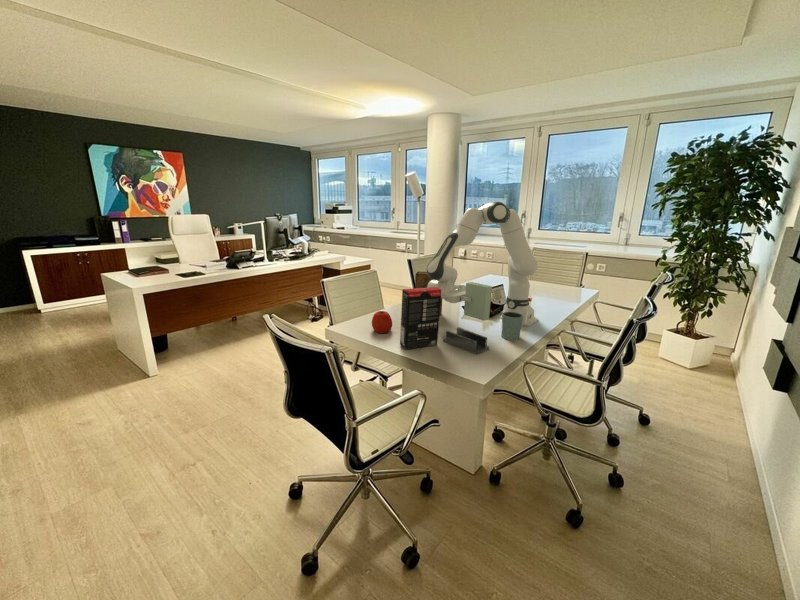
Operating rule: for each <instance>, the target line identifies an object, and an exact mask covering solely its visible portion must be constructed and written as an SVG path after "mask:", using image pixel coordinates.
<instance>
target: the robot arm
mask: <svg viewBox="0 0 800 600" xmlns="http://www.w3.org/2000/svg"><path fill="white" fill-rule="evenodd" d="M494 224H497V225H498V227H499V228H500V233H501V235H502V239H503V243H504V246H505V248H506V249H507V252H508V254H509V255H508V257H507V260H506V263H507V271H508V290H507V296H506V299H505V300H506V301H505V304H504V305H503V310H502V313H504V312H516V313H520V314H522V315H523V321H522V325H521V326H526V327H527V326H528V327H531V326H532V325H533V324H535V323H536V322H538V320H539V318H538V317H536V316H535V310H534V308H533V307H532V306H531V305H530V302H532V301H533V297H532V298H531V297H529V296H530V295H529V294H530V287H531V284H530V281H529V276H532V275H534V274H535V273H536V272H537V270H538V268H539V265H538V261H537V260H536V258H535V255H534V254H533V251H532V249H531V247H530V245H529V243H528V240H527V238H526V234H525V230H524V228H523V224H522V221H521V218H520V216H519V214H518V212H517V210H516V209H514V208H508V207H507V205H506V204H505V203H503V202H502V201H491V202H487V203H485V204H482V205H480V206H479V207H478V208H477V207H469V208H467V209H466V210H465V212H464V213H463V214H462V217H461V218H460V220H459V222H458V223H457V226H456V228H455V229H454V230H453V232H451V233H449V234H448V235H447V236H446V238H445V239H444V241H443V243H442V244H441V245H440V247H439V249H438V250H437V252H436V254H435V256H434V257H433V258H432V259H431V260H430V262H429V263H428V264H427V266H426V272H427V275H428V277H429V278H430V279H433V280H432V281H430V282H429V283H428V286H427V288H430V287H438V288H440V289H441V299H442V300H444V301H445V302H448V303H450V304H456V303H462V302H465V301H469V302H471V301H472V298H471V297H465V291H466V284H465V285H464V284H463V285H462V284H461V285H460V284H455V283H456V281H457V279H458V271H457V269H456V268H454V267H453V266H451V265H449V264H446V261H447V259H448V258H449V256H450V254H451V253H452V252H453V250H454V249H455V248H456V247H460V246H461V247H462V246H463V247H465V246H469V245H471V244H472V243H473V242H474V240H475V239H476V237H477V235H478V233H479V231H480V228H481V227H482V225H494ZM500 319H501V320H502V315H500ZM534 322H535V323H534Z"/></svg>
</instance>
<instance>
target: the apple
mask: <svg viewBox="0 0 800 600" xmlns="http://www.w3.org/2000/svg"><path fill="white" fill-rule="evenodd" d="M371 326H372V328H373V331H374V332H376V333H381V334H387V333H389V332H390V331H391V330H392V327H393V320H392V317H391V314H390V313H389V312H387V311H384V310H379V311H376V312H374V314H373V316H372V318H371Z"/></svg>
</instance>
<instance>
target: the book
mask: <svg viewBox="0 0 800 600" xmlns="http://www.w3.org/2000/svg"><path fill="white" fill-rule="evenodd" d="M432 280H433V279H430V278H429V277H428V275H427V271H416V273H415V281H414V289H415V288H427V286H428V283H429V282H430V281H432ZM442 312H443V299H441V302H440V315H439V317H440V316H442V314H443V313H442Z"/></svg>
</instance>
